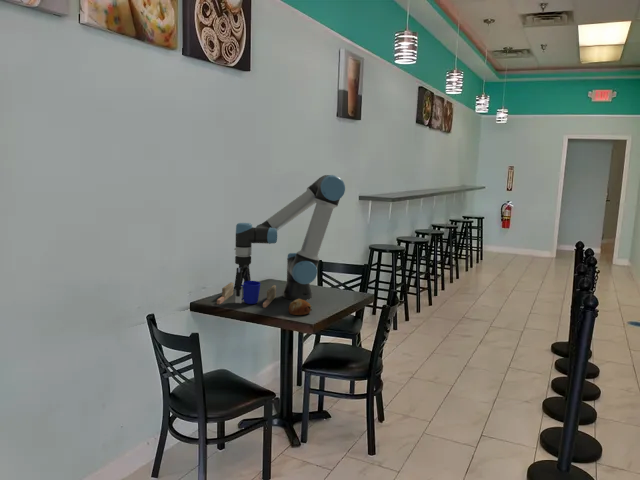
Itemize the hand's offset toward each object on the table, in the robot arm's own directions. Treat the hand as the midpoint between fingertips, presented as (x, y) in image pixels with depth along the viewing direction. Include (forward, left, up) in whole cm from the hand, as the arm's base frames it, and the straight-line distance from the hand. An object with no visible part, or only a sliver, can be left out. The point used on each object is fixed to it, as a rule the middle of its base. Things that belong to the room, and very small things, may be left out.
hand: (242, 299), depth 247 cm
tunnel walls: (0, -13, -3) cm, 13 cm away
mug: (-1, -3, -2) cm, 4 cm away
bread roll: (-31, +9, -3) cm, 33 cm away
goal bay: (0, -1, -3) cm, 3 cm away
